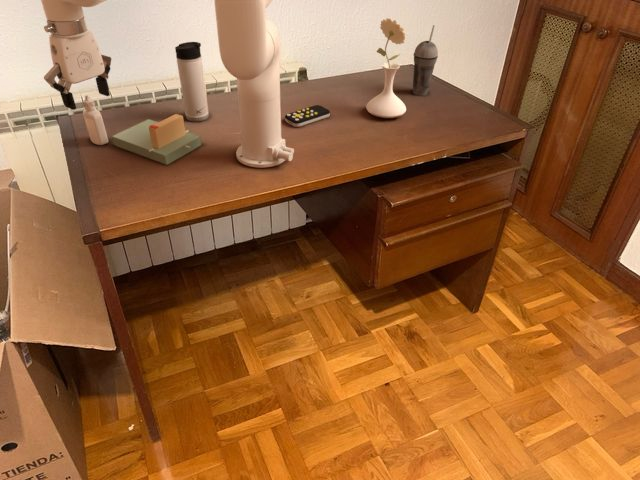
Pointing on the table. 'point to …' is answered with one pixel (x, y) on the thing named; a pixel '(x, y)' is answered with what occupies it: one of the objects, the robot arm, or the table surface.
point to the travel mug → (192, 81)
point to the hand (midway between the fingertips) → (88, 101)
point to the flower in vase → (388, 77)
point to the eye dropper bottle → (94, 122)
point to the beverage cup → (424, 65)
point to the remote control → (307, 116)
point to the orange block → (167, 131)
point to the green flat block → (141, 143)
